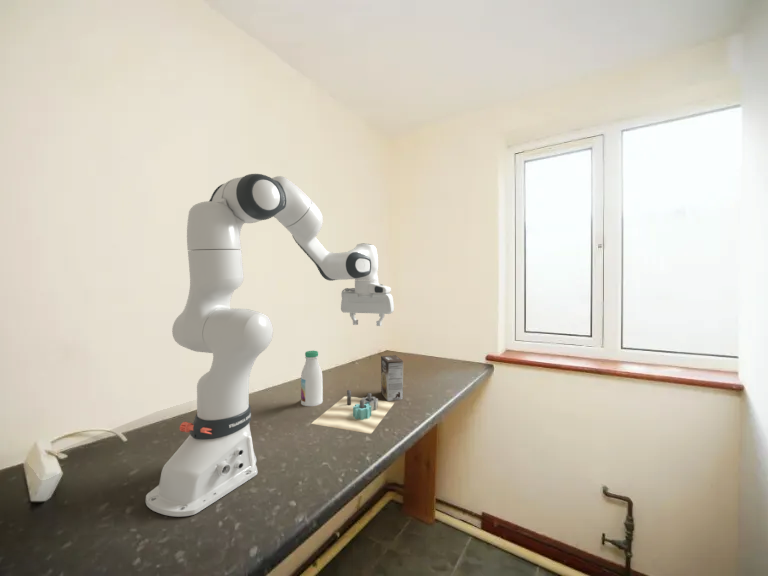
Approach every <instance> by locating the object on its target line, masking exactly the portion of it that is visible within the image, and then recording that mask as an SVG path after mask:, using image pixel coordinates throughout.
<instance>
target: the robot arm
mask: <svg viewBox="0 0 768 576" xmlns="http://www.w3.org/2000/svg"><path fill="white" fill-rule="evenodd" d="M272 218H274V219H276V221H278V222H279V223H280V224H281V225H282V226H283V227H284V228H285V229H286V230H287V231H288V232H289V233H290V234H291V235H292V236H291V237H292V239H293V240H294V241H295V244H297V245H298V247H299V248H300V249H301V250H302V251H303V252H304V254H305V255H307V257H308V258H309V259H310V260H311V261H312V262H313V263H314V265H315V266H316V268H317V269H318V272H319V274H320V275H321V277H322V278H324V279H325V280H326V281H339V280H340V281H341V280H345V281H346V280H354V287H350V288H348V287H346V288H343V289H342V291H341V303H340V310H341V312H342V313H348V314H349V317H350V318H351V320H352V325H353V326H357V325H359V319H357V318H356V314H377V315H378V317H379V319H378V320H376V325H375V326H376V327H381V326H382V325H383V323H382V322H383V319H384V318H385V315H390V314H393V312H394V310H395V303H394V297H393V295H392V294H391V292H392V288H391V286H388V285H385V284H381V283H380V282H379V280H380V279H379V276H378V275H379V274H378V272H379V255H378V250H377V247H376V246H375V245H373V244H370V243H357V244H356V246H355V247H354V248H353V249H350V250H348V251H343V252H333V251H332V252H331V251H329V250H327V249H326V248H325V246H324V245H323V244H322V243H321V242H320V241H319V239H318V238H317V236H318V234H319V233H320V231H321V230H322V226H323V225H324V216H323V213H322V211H321V210H320V208H319V207H318V205H317V204H316V203H315V202H314V201H313V200H312V199H311V198H310V197H309V196H308V195H307V193H305V192H304V191H303V190H302V189H301V188H300V187H299V186H298V185H297V184H295V183H294V182H293V181H291V180H290V179H288V178H287V177H286V176H281V175H280V176H279V175H277V176H273V177H270V176H268V175H265V174H262V173H249V174H246V175H243V176H240V177H235V178H232V179H230V180H228V181H227V182H224V183H222V184H220V185H218V187H216V189H215V190H214V191H213V193H212V194H211V196H210V199H209V201H208V200H207V201H202V202H198V203H196V204H194V205H192V207H190V209H189V211H188V215H187V225H186V226H187V227H186V246H187V257H188V268H189V290H188V291H189V292H188V296H187V300H186V304H185V306H184V309H183V311H182V312H180V314H179V315H178V316H177V317H176V318H175V320H174V321H173V324H172V330H171V331H172V337H173V339H174V341H175V342H176V344H177V345H179V346H181V347H182V348H186V349H187V350H190V351H193V352H197V353H206V354H212V356H213V357H212V358H213V359H212V363H211V367H210V368H209V371H207V372H205V373H204V374H203V375H202V376H201V377H200V378H199V379H198V381H197V384H196V411H197V413H196V414H195V416H194V419H193V421H192V422H188V421H183V422H182V423H181V424H180V425H179V431H180V432H184V433H189V436H188V437H187V438H186V439H185V440H184V441H183V442H182V444H181V445H180V447H178V449H177V450H176V451H175V453H173V455H171V457H170V458H169V459H168V460H167V462H166V463H165V464H164V465H163V467H162V468H161V474H160V478H159V484H157V486H155V487H154V488H153V489H152V490H150V491H149V492H148V493H147V494H146V495H145V505H146V506H147V508H149V509H150V510H152V511H153V512H156V513H158V514H159V515H160V514H161V515H164V516H169V517H176V518H177V517H178V518H179V517H189V516H193V515H196V514H198V513H200V512H201V511H202V510H204V509H205V508H207V507H209V506H210V505H212V504H213V503H216V502H217V501H218V500H219V499H221V498H222V497H223V498H224V496H226V495H228V494H229V493H231V492H232V491H234V490H235V489H238V488H239V487H240V486H242V485H243V484H245V483H246V482H247V481H249V480H251V479H253V478H255V477H256V476H257V475H258V472H259V471H258V466H257V456H256V453H255V450H254V445H253V438H252V432H251V425H250V422H251V421H252V412H251V411H252V409H251V408H252V407H251V404H249V400H250V399H249V397H250V396H249V395H250V394H249V393H250V377H251V372H252V369H253V365H254V363H255V362H256V360H257V358H258V357H259V356H260V355H261V354H262V353H263V352H264V351H266V350H267V348H268V347H269V346H270V344H271V341H272V339H273V338H274V337H273V335H274V328H273V323H272V321H271V319H270V317H269V316H268V314H267V315H266V314H265V313H263V312H259V311H256V310H252V309H249V308H233V307H231V299H232V297H233V293H234V292H235V291H236V290H238V289H239V288H240V287H241V285H242V284H243V282H244V278H245V277H244V265H243V264H244V263H243V255H242V253H243V252H242V245H241V244H242V243H241V231H242V228H243V225H245V224H254V223H258V222H262V221H265V220H269V219H272Z"/></svg>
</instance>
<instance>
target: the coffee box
mask: <svg viewBox="0 0 768 576" xmlns="http://www.w3.org/2000/svg"><path fill="white" fill-rule="evenodd" d="M380 375H381V376H380V379H381V380H380V382H381V383H380V386H381V390H380V391H381V393H380V394H382V396H383V397H384V399H385V401H388V402H392V401H398V400H403V399H404V360H402V359H401V358H400V357H398V355H381V356H380Z"/></svg>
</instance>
